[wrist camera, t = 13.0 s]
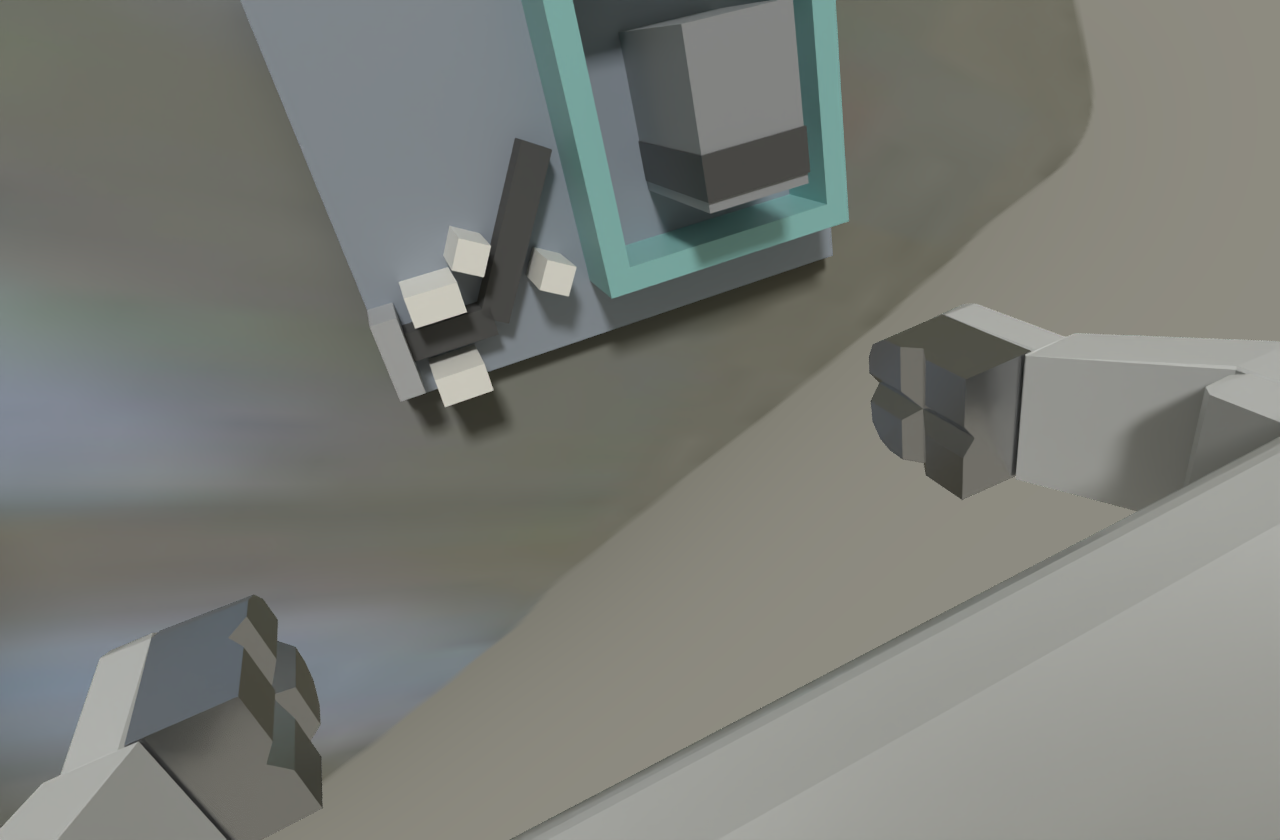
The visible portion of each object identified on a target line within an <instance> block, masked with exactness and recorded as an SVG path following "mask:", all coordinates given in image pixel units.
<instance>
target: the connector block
mask: <svg viewBox="0 0 1280 840" xmlns="http://www.w3.org/2000/svg"><path fill="white" fill-rule="evenodd" d="M618 33H619V38H620V43H621V48H622V54H623V59H624V64H625V69H626V74H627V80H628V85H629V90H630V95H631V101H632V106H633V111H634V116H635V121H636V127H637V132H638V137H639V141H638V143H639V148H640V154H641V159H642V164H643V169H644V174H645V180H646V181H647V184H648V189H649V190H650V191H652V192H655V193H658V194H660V195H663V196H665V197H668V198H671V199H673V200H676V201H678V202H681V203H684V204H686V205H689V206H692V207H694V208H697V209H699V210H702V211H705V212H707V213H710V214H711V213H714V212H718V211H721V210H724V209H727V208H730V207H734V206H737V205H740V204H743V203H747V202H750V201H753V200H756V199H759V198H763V197H766V196H769V195H772V194H776V193H779V192H782V191H785V190H788V189H792V188H795V187H798V186H801V185H804V184H808V183H809V182H808V173H809V172H810V162H809V150H808V138H807V126H806V125H804V124H803V112H802V100H801V89H800V77H799V65H798V54H797V42H796V30H795V19H794V7H793V0H769V1H763V2H756V3H750V4H744V5H737V6H731V7H725V8H718V9H712V10H708V11H704V12H700V13H696V14H691V15H687V16H683V17H679V18H675V19H671V20H667V21H663V22H658V23H654V24H650V25H646V26H642V27H638V28H634V29H630V30H626V31H621V32H618Z"/></svg>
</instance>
